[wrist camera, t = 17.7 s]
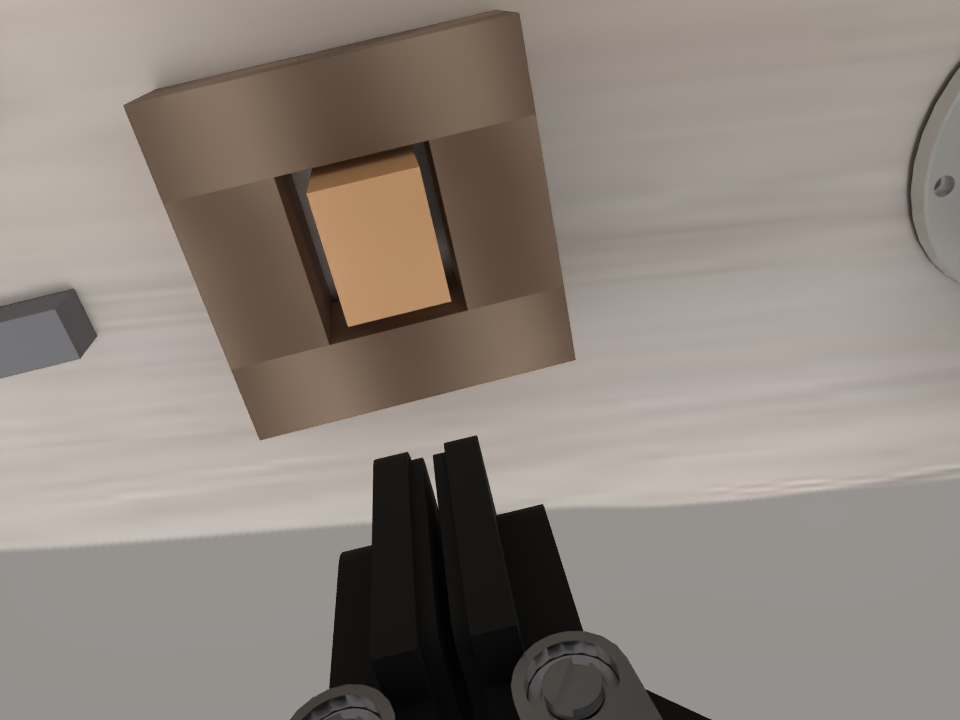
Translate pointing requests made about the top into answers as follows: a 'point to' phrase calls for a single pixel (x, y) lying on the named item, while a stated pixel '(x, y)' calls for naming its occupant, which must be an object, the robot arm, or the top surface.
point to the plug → (378, 235)
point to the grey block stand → (43, 333)
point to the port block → (287, 241)
